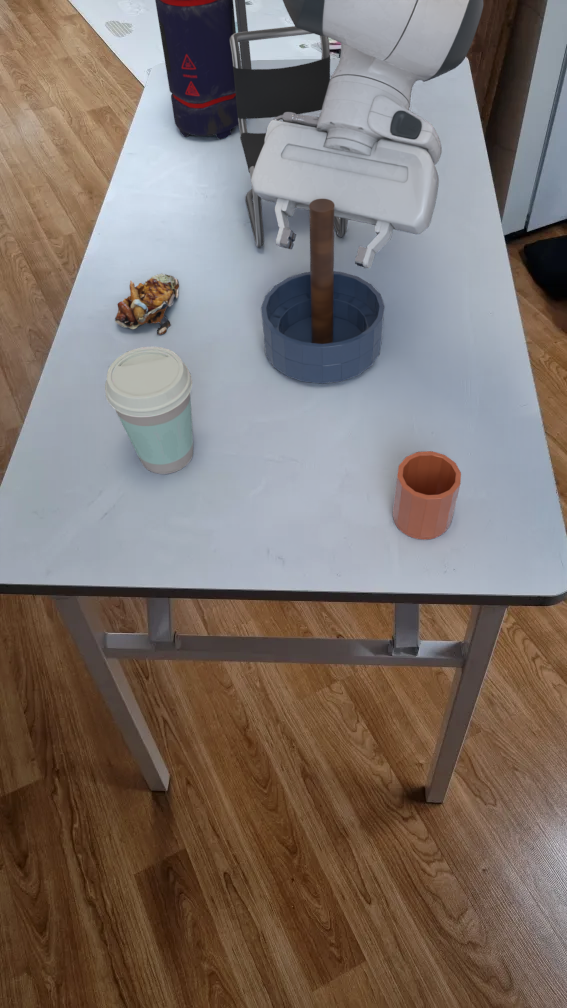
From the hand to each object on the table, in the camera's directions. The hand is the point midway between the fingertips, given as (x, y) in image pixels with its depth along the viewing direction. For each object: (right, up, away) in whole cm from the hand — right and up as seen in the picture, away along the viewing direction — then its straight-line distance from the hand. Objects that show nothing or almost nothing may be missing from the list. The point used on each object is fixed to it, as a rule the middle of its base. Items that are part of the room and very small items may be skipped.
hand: (322, 256), depth 78 cm
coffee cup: (-17, -22, +1) cm, 28 cm away
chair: (-3, +15, +28) cm, 32 cm away
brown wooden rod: (+1, -7, +10) cm, 12 cm away
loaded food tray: (-22, -1, +17) cm, 28 cm away
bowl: (+1, -8, +10) cm, 13 cm away
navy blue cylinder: (-16, +39, +47) cm, 63 cm away
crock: (+10, -28, -6) cm, 30 cm away
